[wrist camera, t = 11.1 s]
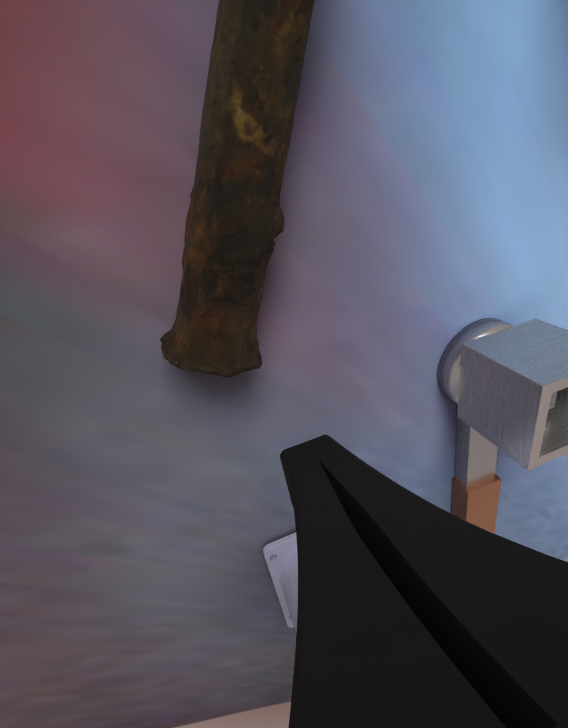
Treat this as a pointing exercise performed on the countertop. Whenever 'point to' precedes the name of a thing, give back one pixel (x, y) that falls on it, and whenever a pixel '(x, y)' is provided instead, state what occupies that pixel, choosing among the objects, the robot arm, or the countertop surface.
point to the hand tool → (238, 183)
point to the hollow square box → (518, 390)
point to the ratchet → (472, 439)
